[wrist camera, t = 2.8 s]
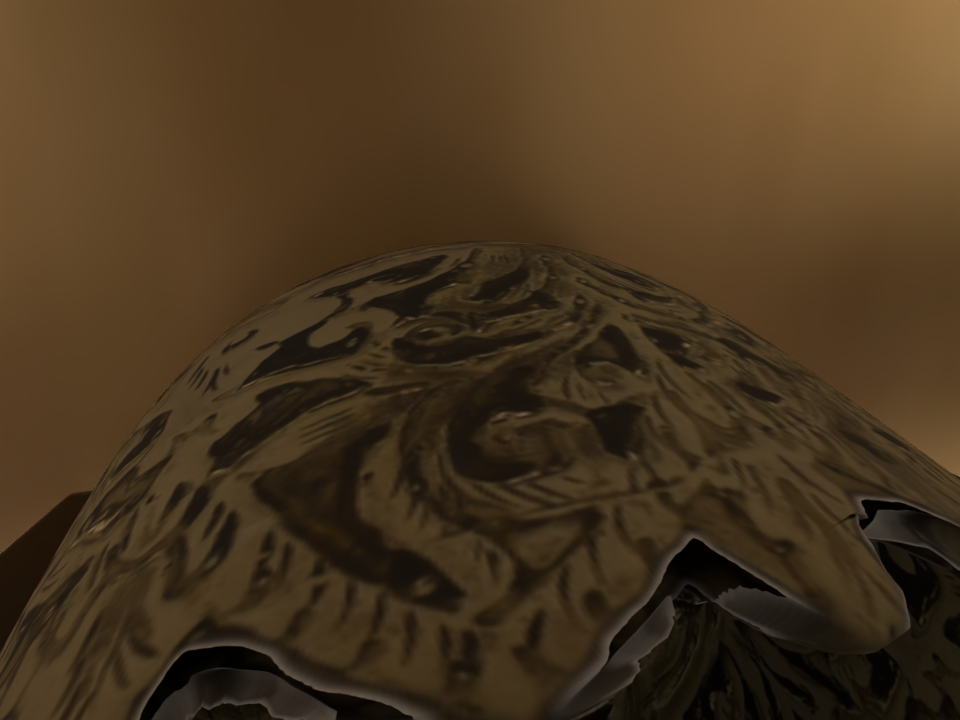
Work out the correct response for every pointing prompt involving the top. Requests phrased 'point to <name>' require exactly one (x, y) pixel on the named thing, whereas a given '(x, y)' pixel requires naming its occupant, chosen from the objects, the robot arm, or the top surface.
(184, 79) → the top surface
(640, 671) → the cup
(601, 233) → the top surface
